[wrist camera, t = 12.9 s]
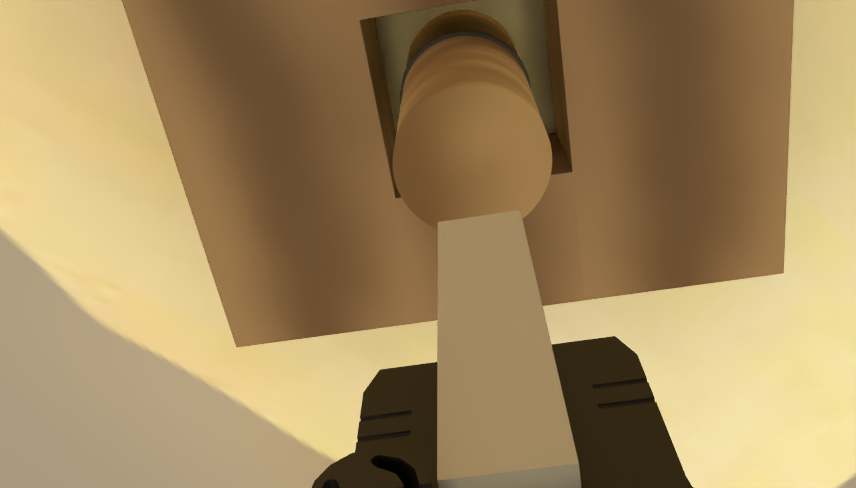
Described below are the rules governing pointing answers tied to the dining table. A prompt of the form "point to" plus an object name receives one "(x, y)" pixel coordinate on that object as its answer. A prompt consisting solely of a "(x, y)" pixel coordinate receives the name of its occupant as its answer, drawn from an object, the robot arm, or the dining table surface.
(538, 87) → the dining table surface
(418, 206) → the dowel
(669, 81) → the board
